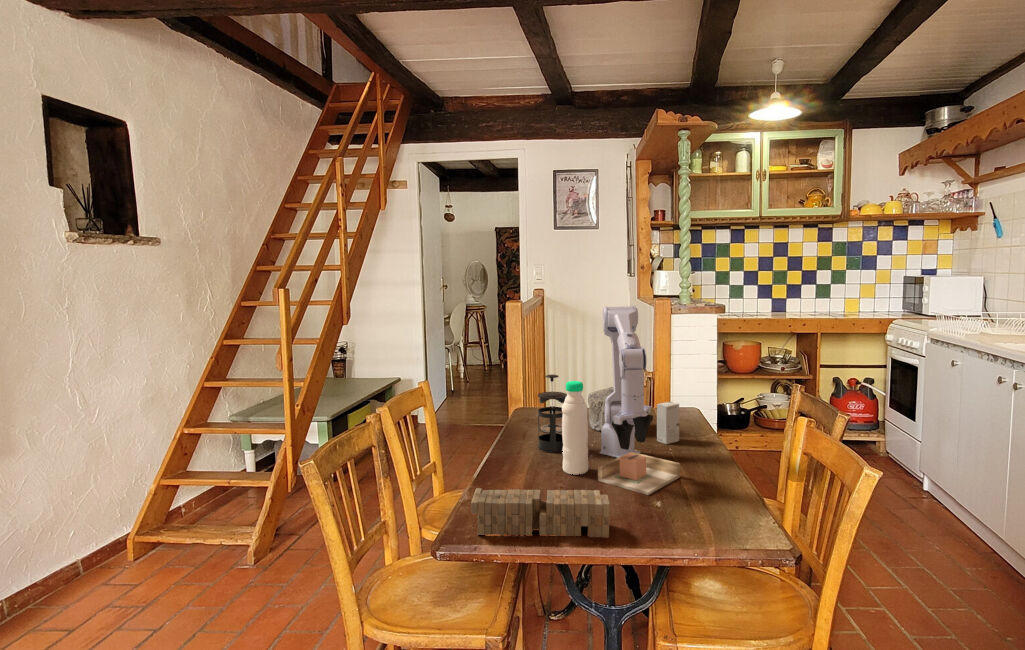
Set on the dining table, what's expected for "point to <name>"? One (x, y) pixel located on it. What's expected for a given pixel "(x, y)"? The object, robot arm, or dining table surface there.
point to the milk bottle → (575, 430)
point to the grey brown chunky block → (598, 408)
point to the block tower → (541, 512)
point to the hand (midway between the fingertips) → (632, 445)
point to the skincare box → (667, 422)
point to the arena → (656, 477)
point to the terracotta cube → (633, 466)
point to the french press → (551, 421)
